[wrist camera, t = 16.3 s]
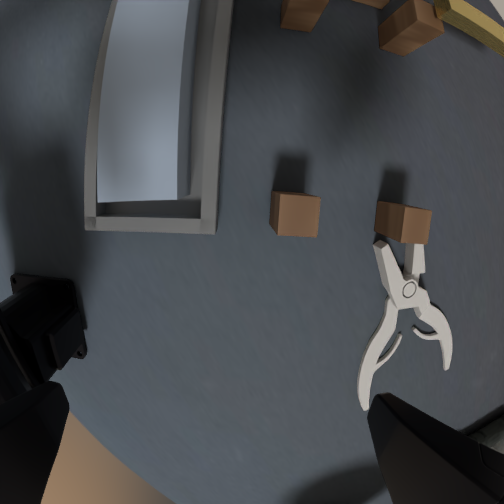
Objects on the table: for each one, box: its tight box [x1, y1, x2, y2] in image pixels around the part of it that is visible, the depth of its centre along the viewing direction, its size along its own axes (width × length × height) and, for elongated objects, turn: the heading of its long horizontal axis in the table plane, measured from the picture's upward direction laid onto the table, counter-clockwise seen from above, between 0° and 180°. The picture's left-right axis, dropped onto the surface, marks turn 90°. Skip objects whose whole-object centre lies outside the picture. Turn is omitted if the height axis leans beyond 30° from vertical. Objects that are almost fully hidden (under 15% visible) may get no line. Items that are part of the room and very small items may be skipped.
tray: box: [84, 0, 234, 234], centre depth 14 cm, size 8×20×2 cm, turn 177°
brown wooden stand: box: [269, 0, 445, 245], centre depth 13 cm, size 9×18×5 cm, turn 177°
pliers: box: [357, 240, 452, 411], centre depth 20 cm, size 10×2×15 cm
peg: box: [97, 0, 201, 203], centre depth 13 cm, size 4×16×4 cm, turn 179°
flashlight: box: [468, 415, 504, 448], centre depth 25 cm, size 5×21×5 cm, turn 96°
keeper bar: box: [433, 0, 504, 57], centre depth 9 cm, size 10×2×2 cm, turn 87°
